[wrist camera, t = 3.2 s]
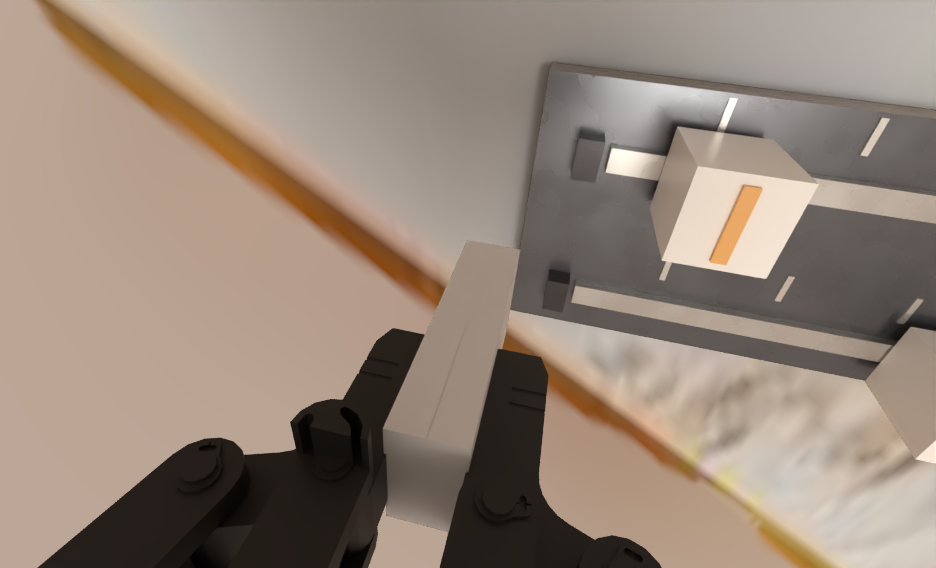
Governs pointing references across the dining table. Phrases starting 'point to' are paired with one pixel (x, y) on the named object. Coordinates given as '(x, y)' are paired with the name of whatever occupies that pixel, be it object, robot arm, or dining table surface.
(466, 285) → the robot arm
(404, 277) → the dining table surface
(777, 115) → the console
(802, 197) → the fader
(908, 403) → the fader
